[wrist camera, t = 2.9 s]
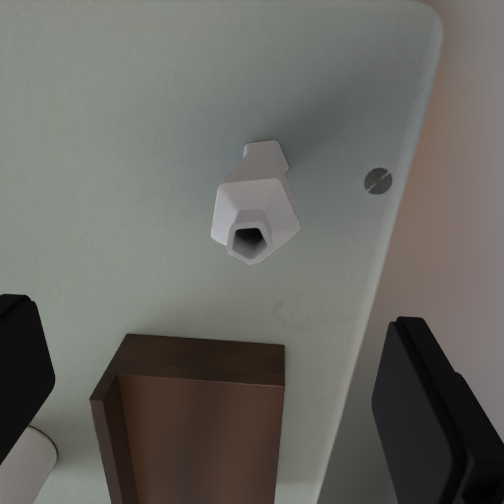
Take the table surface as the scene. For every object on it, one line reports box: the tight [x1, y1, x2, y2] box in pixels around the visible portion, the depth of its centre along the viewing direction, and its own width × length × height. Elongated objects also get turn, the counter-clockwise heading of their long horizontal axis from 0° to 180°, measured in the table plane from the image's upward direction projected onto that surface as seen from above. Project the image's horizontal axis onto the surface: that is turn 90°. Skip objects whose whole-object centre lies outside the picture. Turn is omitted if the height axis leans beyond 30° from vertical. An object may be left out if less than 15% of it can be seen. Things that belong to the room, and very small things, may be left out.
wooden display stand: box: [89, 334, 285, 504], centre depth 39 cm, size 16×22×8 cm
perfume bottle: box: [211, 140, 300, 265], centre depth 23 cm, size 5×4×15 cm
